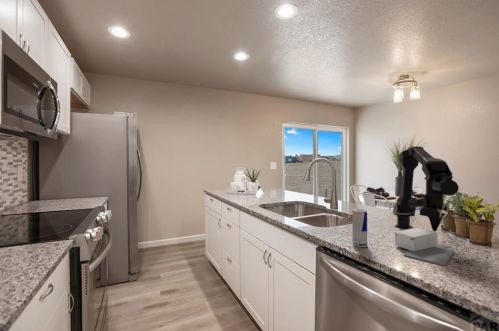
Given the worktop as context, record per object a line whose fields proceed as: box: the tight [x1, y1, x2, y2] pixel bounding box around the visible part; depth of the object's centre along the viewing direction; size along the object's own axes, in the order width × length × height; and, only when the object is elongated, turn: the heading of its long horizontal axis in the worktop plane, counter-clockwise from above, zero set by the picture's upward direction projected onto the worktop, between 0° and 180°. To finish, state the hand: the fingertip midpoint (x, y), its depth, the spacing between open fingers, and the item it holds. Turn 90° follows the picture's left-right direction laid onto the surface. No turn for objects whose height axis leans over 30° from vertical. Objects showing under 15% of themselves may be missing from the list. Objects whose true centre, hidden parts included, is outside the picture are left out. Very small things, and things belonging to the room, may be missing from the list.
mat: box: [403, 246, 455, 267], centre depth 92 cm, size 18×12×1 cm, turn 132°
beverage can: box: [351, 208, 368, 248], centre depth 101 cm, size 6×6×15 cm
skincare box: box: [394, 227, 438, 251], centre depth 99 cm, size 8×6×15 cm
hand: (434, 231), depth 97 cm, fingers closed
